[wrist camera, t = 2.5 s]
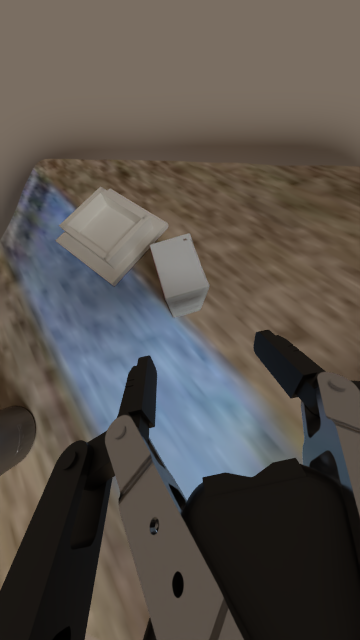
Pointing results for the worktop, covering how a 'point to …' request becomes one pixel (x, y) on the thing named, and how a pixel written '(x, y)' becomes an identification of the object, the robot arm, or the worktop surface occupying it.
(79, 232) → the off-white tray
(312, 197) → the worktop surface
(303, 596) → the robot arm
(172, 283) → the small box
